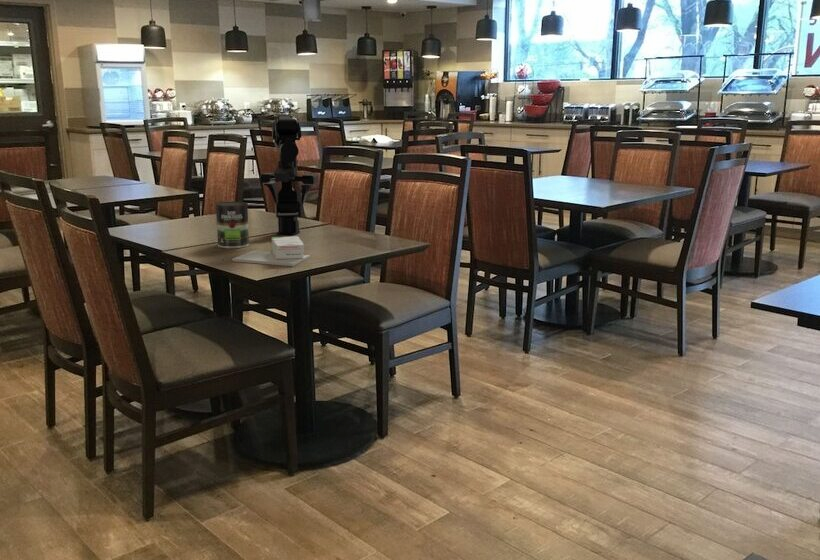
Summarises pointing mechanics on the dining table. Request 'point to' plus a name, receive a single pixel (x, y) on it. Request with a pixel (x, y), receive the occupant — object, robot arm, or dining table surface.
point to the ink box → (287, 247)
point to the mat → (268, 259)
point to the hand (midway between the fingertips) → (289, 204)
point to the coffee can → (232, 224)
